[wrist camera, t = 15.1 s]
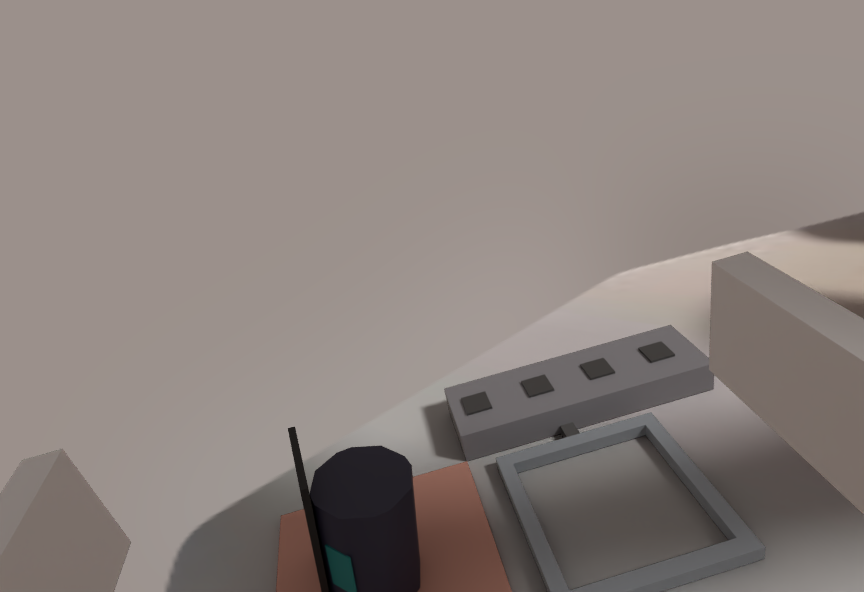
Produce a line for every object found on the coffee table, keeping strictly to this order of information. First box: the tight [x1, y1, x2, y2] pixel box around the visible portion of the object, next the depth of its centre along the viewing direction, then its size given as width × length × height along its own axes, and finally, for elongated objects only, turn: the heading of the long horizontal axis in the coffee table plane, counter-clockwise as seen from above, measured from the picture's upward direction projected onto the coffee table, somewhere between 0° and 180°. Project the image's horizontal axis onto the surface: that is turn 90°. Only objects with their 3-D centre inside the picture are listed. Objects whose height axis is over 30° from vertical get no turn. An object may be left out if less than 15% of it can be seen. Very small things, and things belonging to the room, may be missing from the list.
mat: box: [276, 461, 512, 592], centre depth 35 cm, size 14×14×1 cm
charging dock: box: [444, 325, 766, 592], centre depth 39 cm, size 20×20×3 cm
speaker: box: [288, 427, 420, 592], centre depth 32 cm, size 8×6×10 cm
